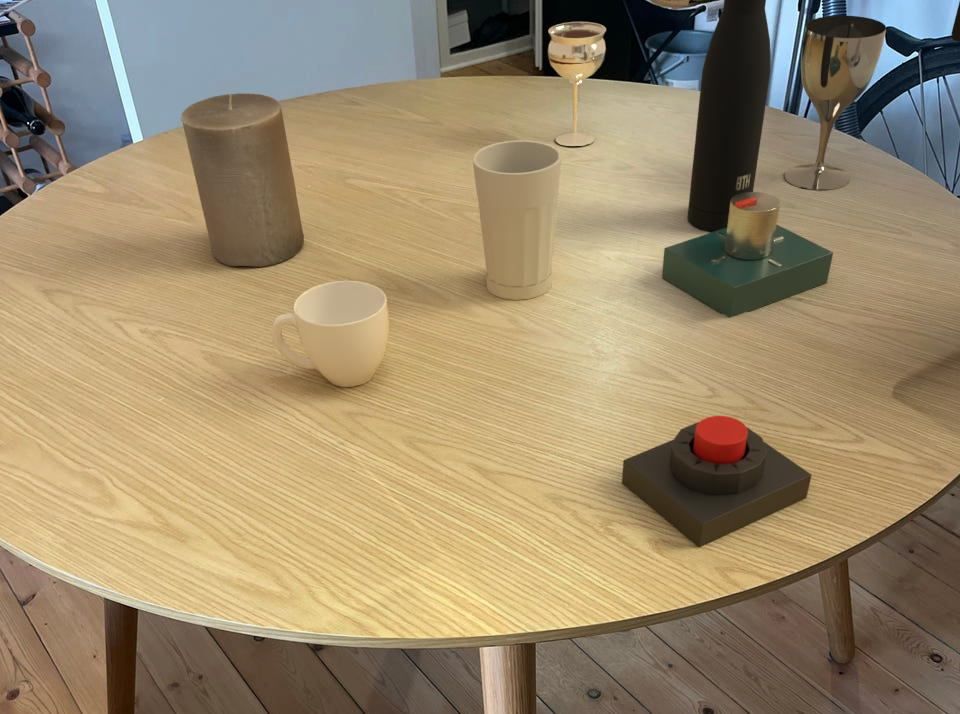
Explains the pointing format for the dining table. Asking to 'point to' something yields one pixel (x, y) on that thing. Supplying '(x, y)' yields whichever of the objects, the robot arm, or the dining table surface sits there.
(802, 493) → the red button base
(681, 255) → the dial panel
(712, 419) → the red button
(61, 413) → the dining table surface
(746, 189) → the wine bottle
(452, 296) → the dining table surface
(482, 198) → the cup
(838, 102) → the metal goblet
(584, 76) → the wineglass
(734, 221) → the dial
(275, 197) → the pillar candle
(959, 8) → the robot arm
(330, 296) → the cup
